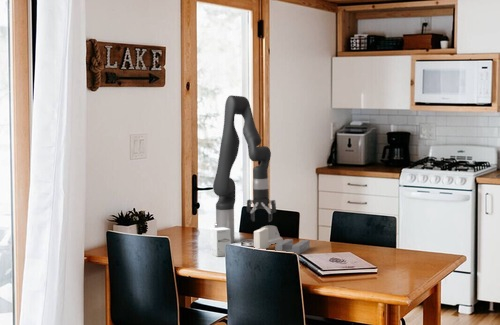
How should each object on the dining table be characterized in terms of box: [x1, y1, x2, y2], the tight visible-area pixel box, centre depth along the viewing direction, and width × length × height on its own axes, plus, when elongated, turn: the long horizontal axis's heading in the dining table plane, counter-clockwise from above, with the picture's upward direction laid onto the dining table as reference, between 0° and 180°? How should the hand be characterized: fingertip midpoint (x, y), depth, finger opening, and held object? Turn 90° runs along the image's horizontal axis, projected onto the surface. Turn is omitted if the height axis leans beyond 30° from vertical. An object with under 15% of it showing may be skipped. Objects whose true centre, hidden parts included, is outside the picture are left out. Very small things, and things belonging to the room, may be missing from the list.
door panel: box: [253, 227, 270, 250], centre depth 387 cm, size 12×3×10 cm, turn 158°
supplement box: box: [209, 227, 232, 257], centre depth 376 cm, size 7×7×13 cm
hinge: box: [259, 225, 284, 246], centre depth 405 cm, size 17×5×10 cm, turn 145°
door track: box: [274, 238, 311, 255], centre depth 384 cm, size 16×12×4 cm
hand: (261, 221), depth 386 cm, fingers open, 8 cm apart
